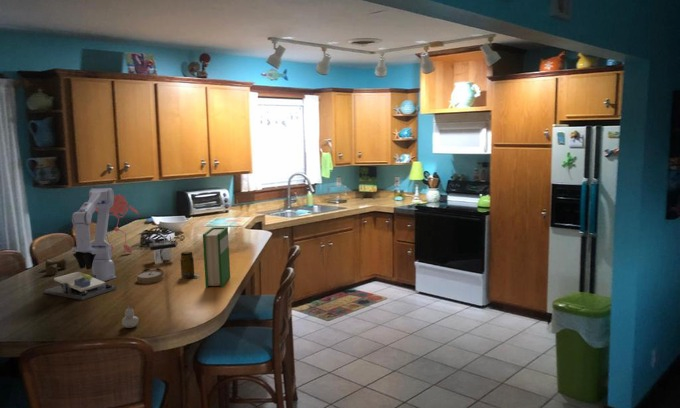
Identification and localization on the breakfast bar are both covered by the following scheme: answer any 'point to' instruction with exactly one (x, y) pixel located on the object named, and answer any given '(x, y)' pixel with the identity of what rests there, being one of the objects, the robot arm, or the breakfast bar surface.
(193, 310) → the breakfast bar surface
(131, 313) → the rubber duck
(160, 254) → the black-topped pedestal
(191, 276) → the condiment
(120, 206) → the figurine
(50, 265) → the kendama
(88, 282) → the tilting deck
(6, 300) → the breakfast bar surface
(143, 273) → the alarm clock
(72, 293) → the base
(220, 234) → the hardback book
